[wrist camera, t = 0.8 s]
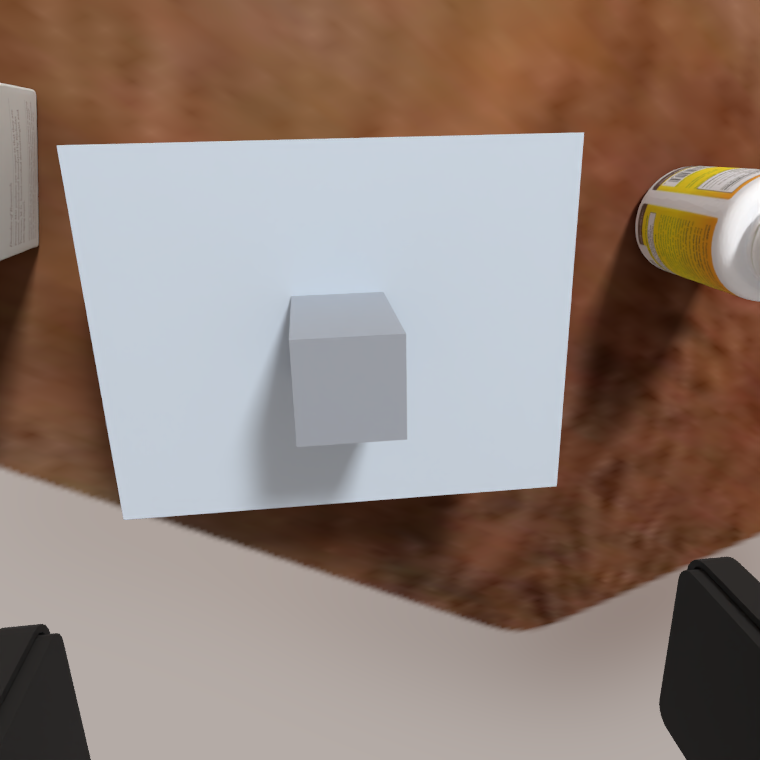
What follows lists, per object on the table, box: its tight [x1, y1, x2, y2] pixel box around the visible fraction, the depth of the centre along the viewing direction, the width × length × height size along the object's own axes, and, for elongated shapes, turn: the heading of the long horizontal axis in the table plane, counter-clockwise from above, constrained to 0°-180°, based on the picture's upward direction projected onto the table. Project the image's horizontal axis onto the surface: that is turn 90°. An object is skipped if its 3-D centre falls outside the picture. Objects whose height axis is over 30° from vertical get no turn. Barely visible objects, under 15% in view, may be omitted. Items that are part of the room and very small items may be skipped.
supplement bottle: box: [635, 166, 760, 301], centre depth 31 cm, size 6×6×10 cm
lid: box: [57, 133, 584, 520], centre depth 24 cm, size 19×15×7 cm
